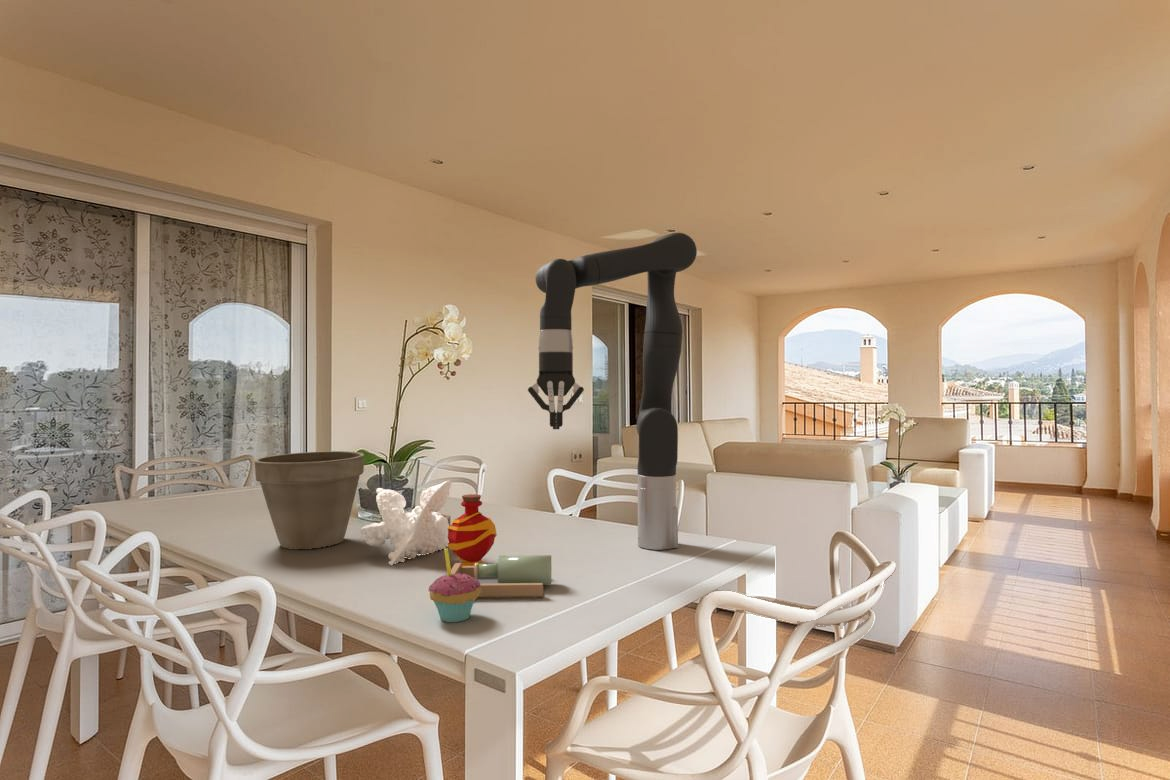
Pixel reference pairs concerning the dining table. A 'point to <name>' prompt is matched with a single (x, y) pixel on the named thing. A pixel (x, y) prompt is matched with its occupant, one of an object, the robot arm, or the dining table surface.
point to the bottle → (518, 569)
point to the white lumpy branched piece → (410, 523)
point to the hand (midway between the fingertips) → (556, 429)
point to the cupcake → (454, 594)
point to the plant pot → (310, 495)
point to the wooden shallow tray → (501, 586)
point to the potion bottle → (471, 533)
